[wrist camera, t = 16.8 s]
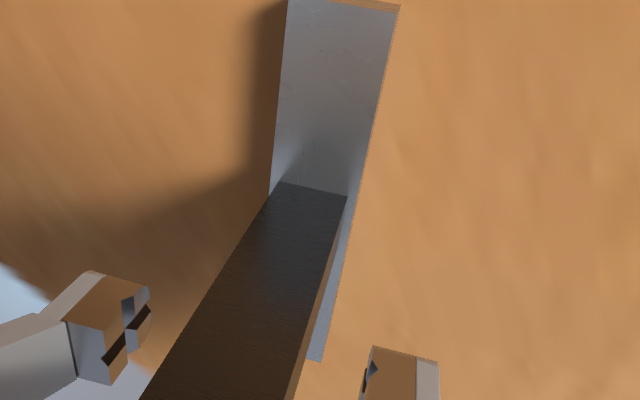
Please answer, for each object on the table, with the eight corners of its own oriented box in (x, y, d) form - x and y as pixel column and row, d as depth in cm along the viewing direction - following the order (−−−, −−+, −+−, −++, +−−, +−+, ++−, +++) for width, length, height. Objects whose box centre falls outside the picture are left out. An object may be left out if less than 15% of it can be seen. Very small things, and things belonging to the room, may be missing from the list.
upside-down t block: (308, -13, 14) (55, 60, 4) (401, 4, 14) (345, 122, 4) (270, 305, 21) (139, 605, 12) (331, 321, 21) (249, 644, 11)
